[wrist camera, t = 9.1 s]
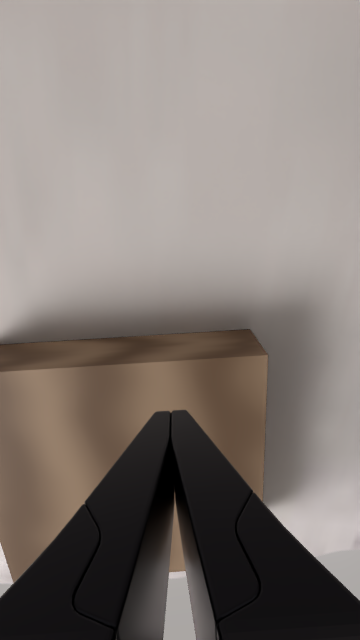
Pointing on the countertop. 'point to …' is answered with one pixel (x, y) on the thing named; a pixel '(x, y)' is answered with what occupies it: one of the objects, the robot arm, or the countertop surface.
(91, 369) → the brown flat block
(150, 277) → the countertop surface
